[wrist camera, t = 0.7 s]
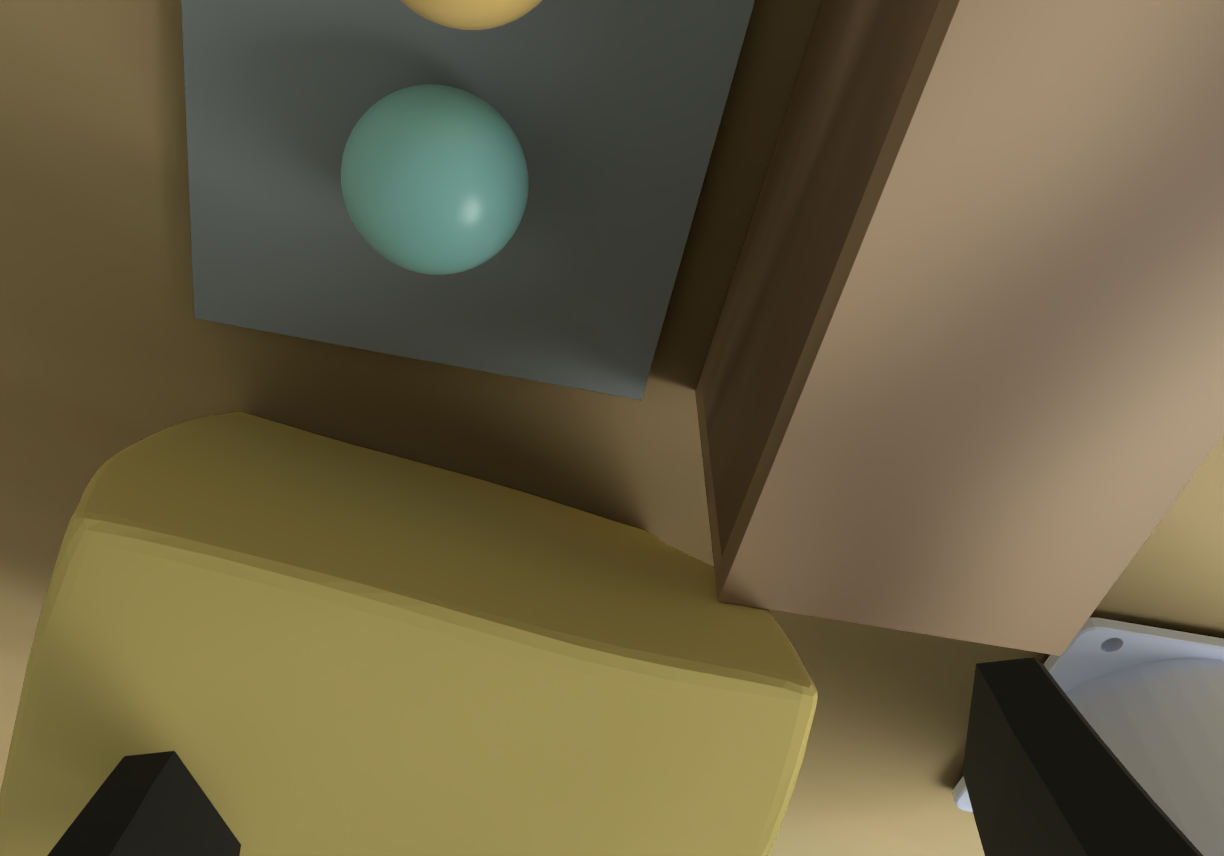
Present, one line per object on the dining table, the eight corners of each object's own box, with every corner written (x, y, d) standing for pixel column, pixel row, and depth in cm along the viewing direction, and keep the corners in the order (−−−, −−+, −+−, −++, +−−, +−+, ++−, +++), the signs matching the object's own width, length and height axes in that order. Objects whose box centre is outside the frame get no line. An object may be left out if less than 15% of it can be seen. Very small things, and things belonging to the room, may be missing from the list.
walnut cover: (1226, -49, 16) (1494, 63, 11) (961, 440, 21) (1060, 656, 17) (869, -142, 15) (985, -66, 10) (695, 391, 21) (717, 601, 16)
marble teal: (548, 81, 17) (536, 146, 14) (520, 241, 18) (504, 323, 16) (368, 42, 16) (324, 102, 14) (358, 209, 18) (316, 288, 16)
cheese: (546, 913, 24) (616, 1346, 14) (86, 822, 22) (-201, 1258, 12) (681, 513, 23) (854, 684, 13) (214, 376, 21) (15, 461, 11)
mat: (862, -398, 13) (869, -400, 13) (641, 389, 21) (640, 400, 20) (168, -598, 12) (155, -608, 12) (201, 308, 20) (194, 318, 19)
